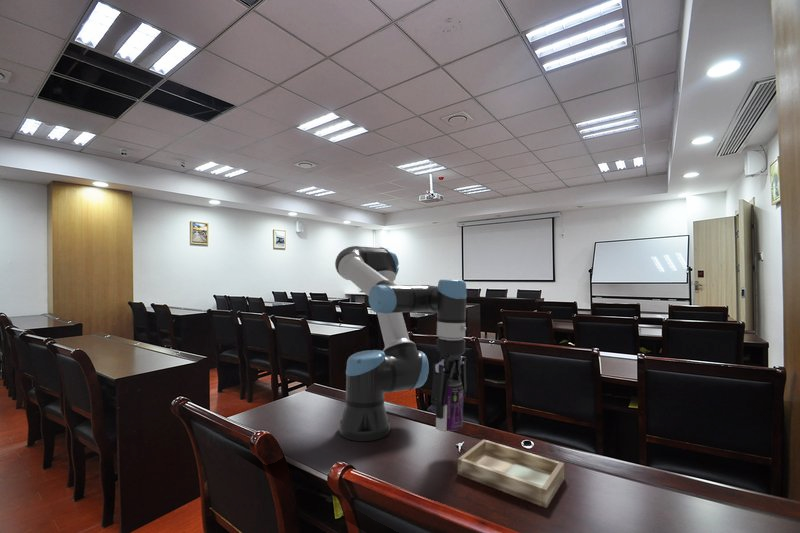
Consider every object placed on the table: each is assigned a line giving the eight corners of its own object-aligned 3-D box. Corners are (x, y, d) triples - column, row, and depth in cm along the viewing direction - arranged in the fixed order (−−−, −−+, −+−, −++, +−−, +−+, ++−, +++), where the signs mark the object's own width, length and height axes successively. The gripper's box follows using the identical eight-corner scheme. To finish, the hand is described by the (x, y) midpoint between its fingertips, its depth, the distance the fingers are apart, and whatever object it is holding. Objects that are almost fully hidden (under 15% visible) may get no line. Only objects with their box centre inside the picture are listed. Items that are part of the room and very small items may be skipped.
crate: (457, 474, 83) (457, 458, 83) (483, 452, 94) (483, 439, 94) (546, 508, 71) (546, 490, 71) (564, 478, 82) (564, 463, 82)
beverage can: (462, 434, 89) (463, 386, 89) (434, 431, 91) (435, 384, 91) (462, 423, 96) (464, 378, 96) (436, 420, 97) (437, 376, 98)
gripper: (443, 344, 84) (441, 443, 83) (480, 335, 100) (478, 417, 99) (417, 340, 88) (415, 433, 88) (457, 332, 104) (455, 410, 103)
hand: (448, 425), depth 93 cm, fingers closed on beverage can, 7 cm apart
